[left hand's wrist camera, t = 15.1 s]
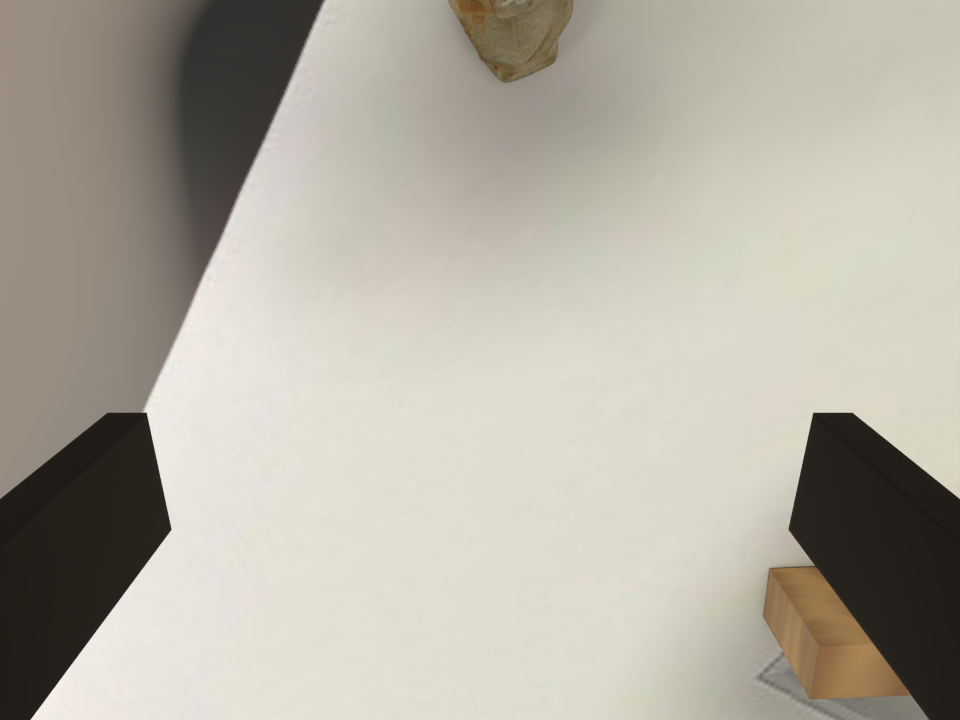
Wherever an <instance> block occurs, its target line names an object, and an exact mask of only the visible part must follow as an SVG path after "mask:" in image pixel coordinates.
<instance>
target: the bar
mask: <svg viewBox="0 0 960 720" xmlns="http://www.w3.org/2000/svg"><path fill="white" fill-rule="evenodd" d="M763 617H764V619H765V620H766V622H767V624H768V626H769V628H770V629H771V631H772V633H773V635H774V636H775V638H776V640H777V642H778V643H779V645H780V647H781V649H782V651H783V652H784V654H785V656H786V658H787V659H788V661H789V663H790V665H791V667H792V668H793V670H794V672H795V674H796V675H797V677H798V679H799V681H800V682H801V684H802V686H803V688H804V690H805V691H806V693H807V695H808V697H809V698H810V699H829V698H853V697H877V696H901V695H911V694H910V693H909V691H908V690H907V689H906V687H905V686H904V685H903V683H902V682H901V681H900V679H899V678H898V677H897V675H896V674H895V672H894V671H893V670H892V668H891V667H890V666H889V664H888V663H887V662H886V660H885V659H884V658H883V656H882V655H881V654H880V652H879V651H878V650H877V648H876V647H875V646H874V644H873V643H872V641H871V640H870V639H869V637H868V636H867V635H866V633H865V632H864V631H863V629H862V628H861V627H860V625H859V624H858V623H857V621H856V620H855V619H854V617H853V616H852V615H851V613H850V612H849V610H848V609H847V608H846V606H845V605H844V604H843V602H842V601H841V600H840V598H839V597H838V596H837V594H836V593H835V592H834V590H833V589H832V588H831V586H830V585H829V584H828V582H827V581H826V579H825V578H824V577H823V575H822V574H821V573H820V571H819V570H818V569H817V567H798V568H777V569H770V572H769V579H768V587H767V594H766V601H765V609H764V616H763Z"/></svg>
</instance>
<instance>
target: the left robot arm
mask: <svg viewBox="0 0 960 720" xmlns="http://www.w3.org/2000/svg"><path fill="white" fill-rule="evenodd" d="M170 531H171V525H170V520H169V516H168V511H167V506H166V502H165V497H164V492H163V487H162V483H161V478H160V473H159V469H158V464H157V459H156V455H155V450H154V445H153V441H152V436H151V431H150V426H149V422H148V417H147V413H107V414H106V415H104V416H103V417H102V418H101V419H99V420H98V421H97V422H96V423H94V424H93V425H92V426H91V427H89V428H88V429H87V430H86V431H84V432H83V433H82V434H81V435H79V436H78V437H77V438H76V439H74V440H73V441H72V442H71V443H70V444H68V445H67V446H66V447H65V448H63V449H62V450H61V451H60V452H58V453H57V454H56V455H55V456H53V457H52V458H51V459H50V460H48V461H47V462H46V463H45V464H43V465H42V466H41V467H40V468H38V469H37V470H36V471H35V472H33V473H32V474H31V475H30V476H28V477H27V478H26V479H25V480H23V481H22V482H21V483H20V484H19V485H17V486H16V487H15V488H13V489H12V490H11V491H10V492H8V493H7V494H6V495H5V496H4V497H2V498H1V499H0V720H31V718H32V717H33V716H34V714H35V713H36V712H37V710H38V709H39V708H40V706H41V705H42V703H43V702H44V701H45V699H46V698H47V697H48V695H49V694H50V693H51V691H52V690H53V689H54V687H55V686H56V685H57V683H58V682H59V681H60V679H61V678H62V677H63V675H64V674H65V672H66V671H67V670H68V668H69V667H70V666H71V664H72V663H73V662H74V660H75V659H76V658H77V656H78V655H79V654H80V652H81V651H82V650H83V648H84V647H85V646H86V644H87V643H88V641H89V640H90V639H91V637H92V636H93V635H94V633H95V632H96V631H97V629H98V628H99V627H100V625H101V624H102V623H103V621H104V620H105V619H106V617H107V616H108V615H109V613H110V612H111V610H112V609H113V608H114V606H115V605H116V604H117V602H118V601H119V600H120V598H121V597H122V596H123V594H124V593H125V592H126V590H127V589H128V588H129V586H130V585H131V584H132V582H133V581H134V579H135V578H136V577H137V575H138V574H139V573H140V571H141V570H142V569H143V567H144V566H145V565H146V563H147V562H148V561H149V559H150V558H151V557H152V555H153V554H154V553H155V551H156V550H157V548H158V547H159V546H160V544H161V543H162V542H163V540H164V539H165V538H166V536H167V535H168V534H169V532H170ZM789 531H790V532H791V534H792V535H793V536H794V538H795V539H796V540H797V542H798V543H799V544H800V546H801V547H802V548H803V550H804V551H805V553H806V554H807V555H808V557H809V558H810V559H811V561H812V562H813V563H814V565H815V566H816V567H817V569H818V570H819V571H820V573H821V574H822V575H823V577H824V578H825V579H826V581H827V582H828V584H829V585H830V586H831V588H832V589H833V590H834V592H835V593H836V594H837V596H838V597H839V598H840V600H841V601H842V602H843V604H844V605H845V606H846V608H847V609H848V610H849V612H850V613H851V615H852V616H853V617H854V619H855V620H856V621H857V623H858V624H859V625H860V627H861V628H862V629H863V631H864V632H865V633H866V635H867V636H868V637H869V639H870V640H871V641H872V643H873V644H874V646H875V647H876V648H877V650H878V651H879V652H880V654H881V655H882V656H883V658H884V659H885V660H886V662H887V663H888V664H889V666H890V667H891V668H892V670H893V671H894V672H895V674H896V675H897V677H898V678H899V679H900V681H901V682H902V683H903V685H904V686H905V687H906V689H907V690H908V691H909V693H910V694H911V695H912V697H913V698H914V699H915V701H916V702H917V703H918V705H919V706H920V708H921V709H922V710H923V712H924V713H925V714H926V716H927V717H928V718H929V720H960V499H959V498H958V497H956V496H955V495H954V494H953V493H952V492H950V491H949V490H948V489H947V488H945V487H944V486H943V485H942V484H940V483H939V482H938V481H937V480H935V479H934V478H933V477H932V476H930V475H929V474H928V473H927V472H925V471H924V470H923V469H922V468H920V467H919V466H918V465H917V464H915V463H914V462H913V461H912V460H910V459H909V458H908V457H907V456H905V455H904V454H903V453H902V452H900V451H899V450H898V449H897V448H895V447H894V446H893V445H892V444H890V443H889V442H888V441H887V440H886V439H884V438H883V437H882V436H881V435H879V434H878V433H877V432H876V431H874V430H873V429H872V428H871V427H869V426H868V425H867V424H866V423H864V422H863V421H862V420H861V419H859V418H858V417H857V416H856V415H854V414H853V413H813V417H812V422H811V426H810V431H809V436H808V441H807V445H806V450H805V455H804V459H803V464H802V469H801V473H800V478H799V483H798V487H797V492H796V497H795V502H794V506H793V511H792V516H791V520H790V525H789Z"/></svg>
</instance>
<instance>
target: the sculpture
mask: <svg viewBox="0 0 960 720" xmlns="http://www.w3.org/2000/svg"><path fill="white" fill-rule="evenodd" d="M449 4H450V6H451V8H452V9H453V11H454V13H455V14H456V16H457V17H458V19H459V21H460V22H461V24H462V26H463V28H464V31H465V33H466V34H467V35H468V37H469V39H470V41H471V42H472V44H473V46H474V47H475V49H476V50H477V52H478V54H479V56H480V59H481V60H482V61H484V62H485V63H486V64H487V66H488V67H489V69H490V70H491V71H492V72H493V73H494V74H495V75H496V76H497V77H498V78H499V79H500V80H501V81H503V82H511V81H514V80H517V79H520V78H523V77H526V76H528V75H531V74H533V73H535V72H537V71H539V70H541V69H543V68H545V67H547V66H550V65H551V64H552V63H554V61H555V60H556V57H557V48H558V37H559V35H560V34H561V32H562V31H563V29H564V28H565V26H566V25H567V23H568V22H569V20H570V17H571V14H572V10H573V0H449Z"/></svg>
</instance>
